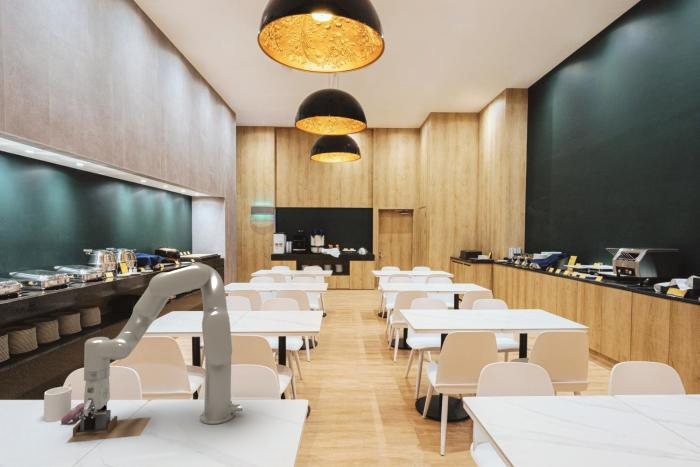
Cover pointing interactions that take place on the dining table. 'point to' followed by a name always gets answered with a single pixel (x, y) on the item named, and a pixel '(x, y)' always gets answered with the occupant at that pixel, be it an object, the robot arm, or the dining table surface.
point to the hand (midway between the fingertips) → (95, 423)
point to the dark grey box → (98, 420)
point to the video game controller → (74, 414)
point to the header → (112, 430)
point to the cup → (57, 403)
